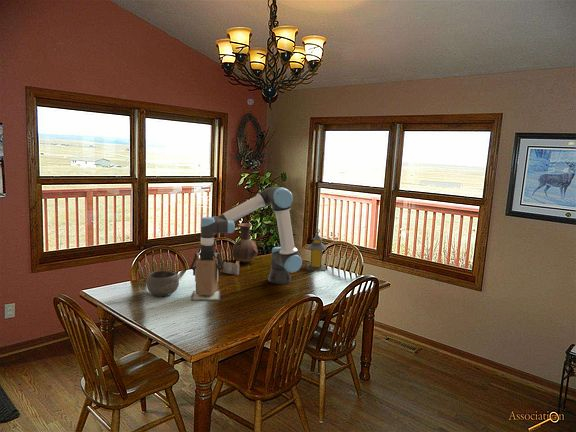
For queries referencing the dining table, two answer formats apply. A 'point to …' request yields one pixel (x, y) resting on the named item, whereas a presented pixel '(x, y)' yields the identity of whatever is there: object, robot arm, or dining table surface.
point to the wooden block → (206, 277)
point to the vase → (244, 245)
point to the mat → (206, 297)
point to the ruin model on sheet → (231, 268)
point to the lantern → (316, 254)
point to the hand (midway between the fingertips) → (206, 280)
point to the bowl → (162, 282)
